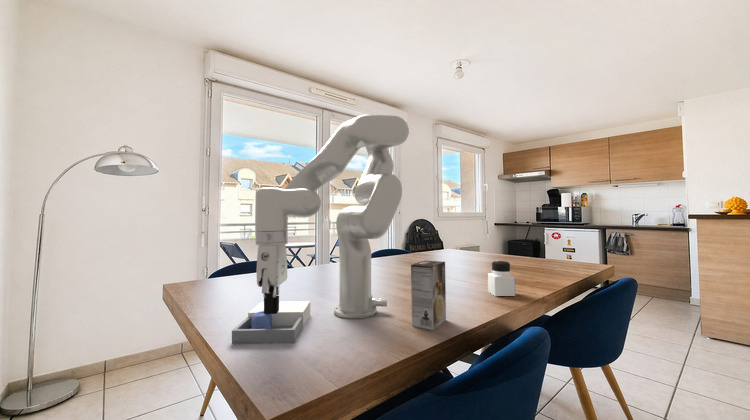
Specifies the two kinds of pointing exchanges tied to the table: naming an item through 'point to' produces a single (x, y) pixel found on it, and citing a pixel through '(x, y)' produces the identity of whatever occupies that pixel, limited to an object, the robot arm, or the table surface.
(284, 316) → the white box lid
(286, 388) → the table surface
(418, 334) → the table surface
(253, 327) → the decorative dice
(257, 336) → the box
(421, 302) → the coffee box
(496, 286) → the medicine bottle
